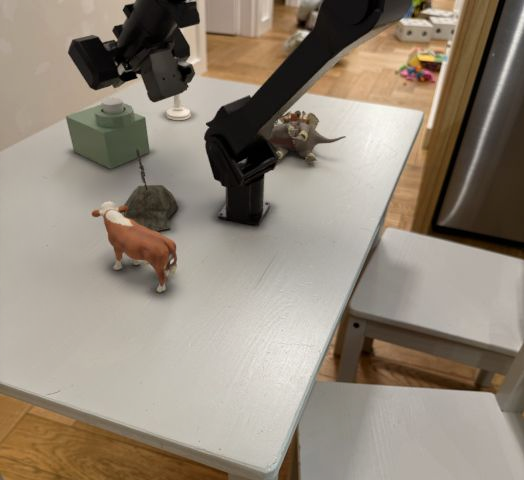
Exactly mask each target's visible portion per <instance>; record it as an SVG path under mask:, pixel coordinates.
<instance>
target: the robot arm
mask: <svg viewBox="0 0 524 480" xmlns="http://www.w3.org/2000/svg"><path fill="white" fill-rule="evenodd" d="M197 5H198V4H197V1H196V0H135V1H134V2H131V3H128V4H124V6H123V8H122V12H123V15H124V16H125V17H126V18H125V20H124V22H123V23H121V24H115V25H114V26H113V27H112V30H111V31H112V34H113V35H114V37H115V38H116V40H115V39H111V40H106V41H102V39H101V38H100V37H99V36H97V35H94V34H90V35H85V36H82V37H81V36H80V37H77V38H73V39H72V40H71V41H70V44H69V46H68V50H67V55H68V56H69V58H70V59H71V61H72V62H73V64H74V65H75V66H76V68H77V70H78V72H79V73H80V75H81V76H82V78H83V79H84V81H85V83H86V84H87V85H88V87H89V89H92V90H93V91H98V90H99V91H100V90H102V89H105V88H109V87H111V86H112V88H113V89H117V88H120V87H121V86H123V85H124V84H125V83H127V82H131V81H135V80H138V79H139V77H138V75H139V76H140V77H141V79H142V82H143V85H144V87H145V90H146V95H147V97H148V99H149V101H151V102H152V103H158V102H160V101H163V100H166V99H169V98H172V97H174V96H175V95H178V94H180V95H181V94H183V93H184V92H186V91H187V90H188V88H190V87H189V84H190V83H191V82H192V81H193V78H194V77H195V76H196V71H195V69H194V65H193V64H192V63H191V62H188V59H189V58H190V57H191V46H190V44H189V43H188V42H189V41H187V39H186V37H185V35H184V34H183V32H182V30H181V29H185V28H188V27H192V26H196V25H200V23H201V17H200V13H199V11H198V7H197ZM412 5H413V0H322V2H321V3H320V4H319V8H318V11H317V15H316V19H315V22H314V25H313V27H312V28H311V30H310V31H309V32H308V33H307V35H305V37H304V38H303V39H302V40H301V41H300V43H298V45H297V46H296V47H295V48H294V49H293V50H292V52H290V54H288V56H287V57H286V58H285V59H284V60H283V61H282V62H281V64H280V65H279V66H278V67H277V68H276V69H275V70H274V71H273V73H271V75H270V76H269V77H268V78H267V79H266V80H265V81H264V82H263V84H262V85H261V86H260V87H259V88H258V89H257V90H256V92H254V93H253V95H252V96H251V95H250V94H248V95H246V96H243V97H241V98H237V99H235V100H234V101H230V102H228V103H225V104H224V105H221V106H220V108H219V109H218V110H217V111H216V113H215V115H214V117H213V118H212V119H211V120H209V121H207V122H205V126H206V127H207V129H206V131H205V132H204V136H203V140H204V141H205V142H204V144H205V145H204V148H205V153H206V156H207V159H208V163H209V167H210V170H211V173H212V177H213V179H214V180H215V181H216V182H219V184H220V185H221V186H222V187H223V188H225V204H224V206H223V207H222V208H221V209H220V211H219V212H218V213H217V217H218V218H219V219H220V220H226V221H230V222H234V223H240V224H246V225H250V226H255V227H257V226H259V225H260V224H261V223H262V220H263V219H264V217H265V216H266V215H267V212H268V211H269V209H270V208H271V203H270V202H267V201H264V200H265V199H264V197H265V195H264V194H265V174H267V173H269V172H271V171H274V170H275V169H276V167H277V166H278V165H277V164H278V162H279V160H280V159H279V158H278V156H277V154H276V152H277V151H276V150H275V148H274V146H272V145H271V144H270V142H269V140H268V139H269V138H270V136H271V133H272V129H273V125H274V124H275V122H276V121H277V120H278V121H279V118H280V117H281V116H283V115H285V114H286V113H287V112H289V111H290V109H291V108H292V107H293V106H294V105H295V104H297V102H298V101H299V100H301V98H302V97H303V96H304V95H305V94H306V93H308V91H309V90H311V88H313V87H314V86H315V84H317V82H319V81H320V80H321V79H322V78H323V77H324V76H325V75H326V74H327V73H328V72H329V71H330V70H331V69H332V68H333V67H335V65H336V64H337V63H338V62H339V61H340V60H341V59H342V58H344V57H345V55H347V54H348V53H350V52H352V51H353V50H355V49H357V48H358V47H360V46H362V45H364V44H365V43H367V42H369V41H371V40H372V39H374V38H375V37H377V36H378V35H380V34H382V33H384V32H385V31H386V30H388V29H390V28H391V27H393V26H394V25H395V24H397V23H399V22H400V21H402V20H403V19H404V18H405V16H406V15H407V14H408V13H409V11H410V9H411V7H412Z"/></svg>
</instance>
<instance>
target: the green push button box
mask: <svg viewBox="0 0 524 480" xmlns="http://www.w3.org/2000/svg"><path fill="white" fill-rule="evenodd" d="M123 107H124V112H122V113H119V114H105V113H103V108H102V103H101V104H98V105H95V106H92V107H89V108H86V109H83V110H80V111H77V112H73V113H71V114H67V115H65V120H66V124H67V128H68V133H69V136H70V141H71V144H72V149H73V153H76V154H78V155H80V156H82V157H84V158H86V159H88V160H90V161H93V162H95V163H96V164H99V165H101V166H103V167H105V168H108V169H109V170H112V169H115V168H117V167H119V166H121V165H124V164H126V163H128V162H131V161H133V160H136V159H138V156H137V153H136V148H138V150H139V153H140V157H142V156H144V155H147V154H149V153H150V143H149V136H148V126H147V120H146V116H143V115H141V114H139V113H136V112H135V110H134V107H133V106H132V105H130V104H128V103H124V102H123Z"/></svg>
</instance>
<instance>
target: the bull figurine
mask: <svg viewBox="0 0 524 480" xmlns="http://www.w3.org/2000/svg"><path fill="white" fill-rule="evenodd" d="M126 211H128V207H127V206H124V205H120V206H118V207H117V205H116V204H115V203H114V202H113V201H105V202H103V203H102V205H101V206H100V209H94V210H92V211H91V216H92V217H93V218H99V217H100V216H101V217H102V218H103V224H104V227H105V230H106V232H107V239H108V240H107V241H108V242H109V244H110V245H111V246H112V247H113V251H114V259H115V264H114V265H113V270H114V271H119V270H120V269H121V270H122V269H123V264H122V260H123V259H124V258H123V255H124V254H125V255H126V256H127V257H128V258H130V259H131V260H133V261H132V264H133V266H138V265H141V264H142V263H145V264H146V265H149V264H150V266H151V267H152V268H153V270H154V271H155V274H156V275H157V278H158V281H159V284H158V286H157V288H156V292H157V293H162V292H164V291H165V290H166V281H167V279H168V276H169V275H171V276H174V275H175V274H176V271H177V269H178V268H177V267H178V264H177V261H178V256H177V244H176V243H175V241H174V240H173V239H171V238H169V237H167V236H165V235H163V233H162V234H161V232H160V231H152V230H150V229H148V228H146V227H144V226H142V225H139V224H138V223H136V222H135V221H134V220H132V219H129V218H126V217H124V212H126ZM122 213H123V214H122ZM172 260H173V261H172ZM171 261H172V263H171Z"/></svg>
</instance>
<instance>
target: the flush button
mask: <svg viewBox="0 0 524 480" xmlns="http://www.w3.org/2000/svg"><path fill="white" fill-rule="evenodd" d="M123 103H124V101H123V99H122V98H120V97H115V96H113V97H105V98H103V99H102V100H101V104H102V108H103V113H105V114H119V113H122V112H124V107H123Z"/></svg>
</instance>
